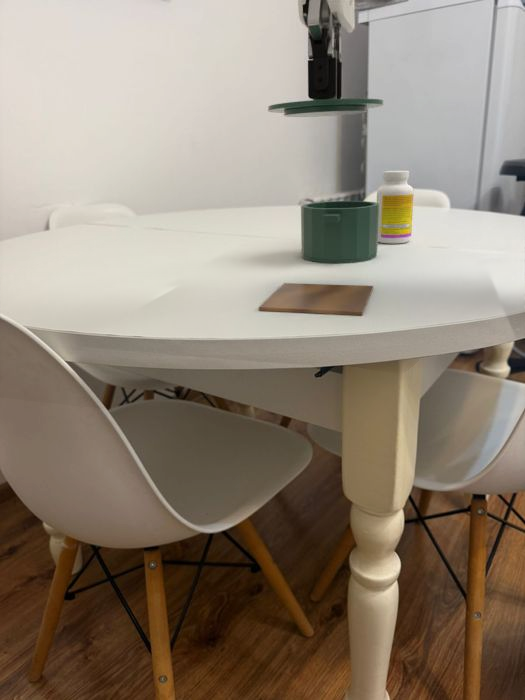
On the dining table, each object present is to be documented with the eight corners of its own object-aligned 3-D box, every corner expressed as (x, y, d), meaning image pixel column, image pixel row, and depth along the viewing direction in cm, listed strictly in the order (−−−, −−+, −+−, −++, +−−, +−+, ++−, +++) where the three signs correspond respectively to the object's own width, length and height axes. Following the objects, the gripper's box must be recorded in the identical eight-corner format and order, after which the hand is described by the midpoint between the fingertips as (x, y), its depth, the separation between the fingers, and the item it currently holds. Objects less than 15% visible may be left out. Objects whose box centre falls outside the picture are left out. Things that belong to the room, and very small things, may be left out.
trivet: (373, 288, 70) (373, 285, 70) (362, 315, 59) (362, 311, 59) (284, 285, 73) (284, 282, 73) (258, 310, 63) (258, 307, 63)
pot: (381, 246, 98) (383, 198, 95) (370, 267, 82) (372, 210, 79) (313, 246, 102) (313, 199, 99) (290, 265, 86) (289, 211, 83)
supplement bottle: (417, 242, 101) (421, 170, 96) (385, 245, 99) (388, 172, 95) (400, 237, 107) (403, 169, 102) (369, 240, 105) (371, 171, 101)
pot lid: (387, 113, 68) (390, 54, 66) (376, 107, 56) (378, 35, 54) (284, 119, 72) (283, 64, 70) (253, 115, 60) (250, 48, 58)
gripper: (348, -132, 49) (345, 91, 55) (369, -70, 63) (365, 101, 70) (269, -117, 51) (276, 96, 58) (307, -60, 66) (309, 105, 72)
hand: (325, 97), depth 64 cm, fingers closed on pot lid, 2 cm apart
